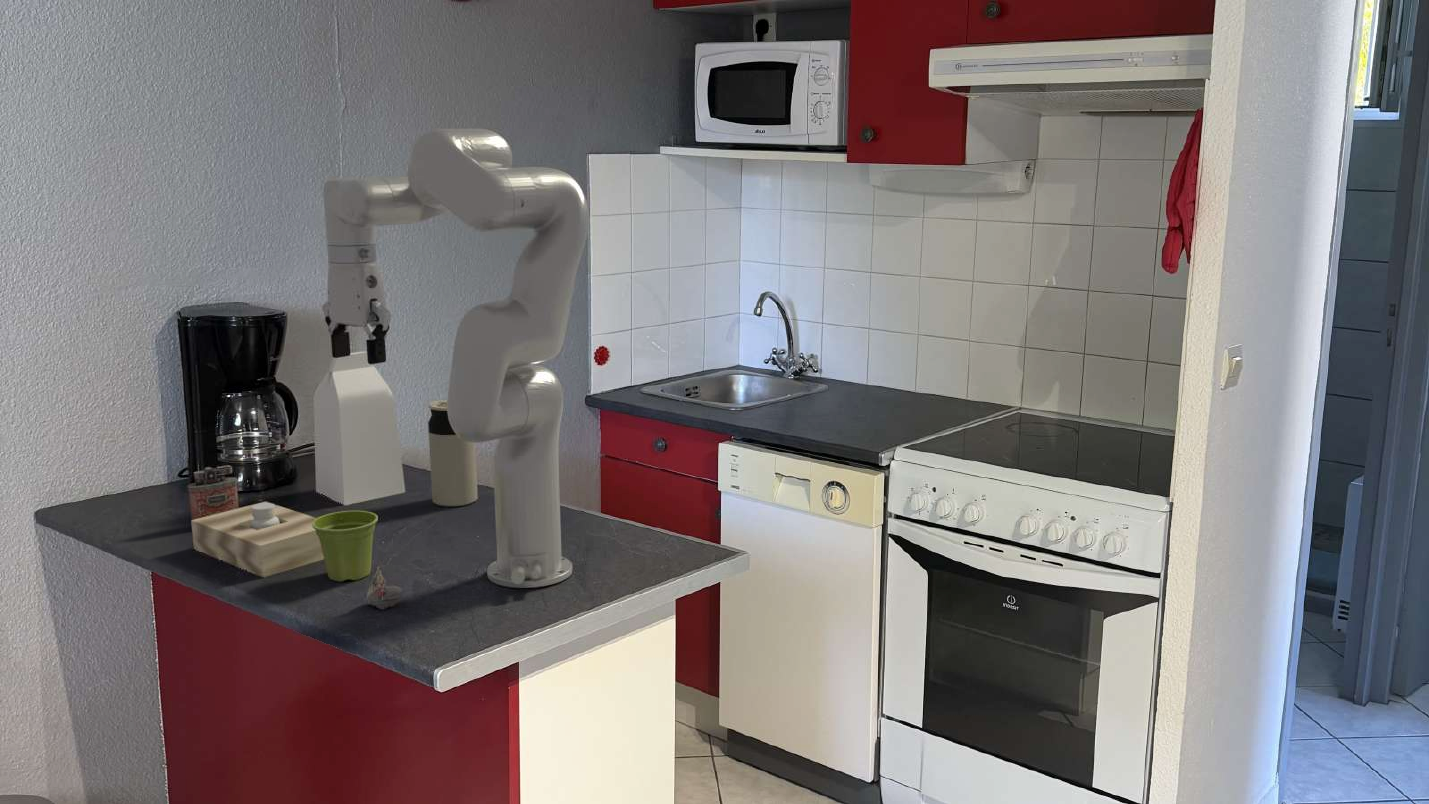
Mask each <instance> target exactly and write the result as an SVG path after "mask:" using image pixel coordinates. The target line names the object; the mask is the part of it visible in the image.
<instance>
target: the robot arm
mask: <svg viewBox="0 0 1429 804" xmlns="http://www.w3.org/2000/svg"><path fill="white" fill-rule="evenodd" d="M512 165H513V153H512V149H511V147H510V145H509V143H508V142H507V140H506V139H504V138H503V137H502V136H501V135H500V134H499V133H497V132H495V131H492V130H489V129H484V128H476V127H475V128H470V127H469V128H465V127H464V128H444V127H443V128H433V129H430V130H427V131H425V132H424V133H422V134H421V135H419V136H418V138H417V139H416V141H415V142H414V143H413V146H412V148H411V152H410V161H409V163H408V166H407V175H406V176H381V177H380V176H378V177H363V178H361V177H359V178H358V177H344V178H343V177H341V178H340V177H339V178H338V177H337V178H335V177H334V178H329V179H328V180H326V181H325V182H324V183H323V186H322V187H323V188H322V193H323V195H322V197H323V206H324V207H323V208H324V223H325V233H326V234H325V235H326V244H327V245H326V248H327V249H326V250H327V251H326V252H327V264H328V269H327V270H328V271H327V301H326V302H325V303H323V304H322V306H321V310H322V313H323V315H324V321H325V324H327V327H328V329H327V330H328V333H329V335H330V341H331V342H330V344H331V355H332V358H333V357H334V358H339V357H345V356H349V355H350V354H351V353H352V352H351V343H350V342H351V340H350V332H349V331H347V330H348V327H357V328H363V330H364V332H365V334H366V335H367V337H368V339H366V352H367V359H368V364H373V365H377V364H381V363H382V364H383V363H386V361H387V353H386V352H387V350H386V339H387V337H388V332H389V329H390V323H391V319H392V313H391V312H390V311H389V310H388V309H387V303H386V302H387V301H386V295H385V288H384V283H383V277H382V273H381V269H380V265H379V263H377V252H376V251H377V250H376V249H377V248H376V236H375V227H384V226H398V225H413V224H419V223H422V222H424V221H427V220H430V219H432V218H435V217H438V216H441V215H443V214H445V213H447V212H448V211H450V212H451V214H453V216H455V217H456V218H457V219H459V220H460V221H461V222H462V223H464V224H466V226H467V227H470V228H472V229H474V230H475V231H479V232H482V233H501V232H502V233H503V232H513V231H514V232H515V231H523V230H525V231H526V230H533V235H532V237H531V238H530V239H529V240H528V242H527V243H526V245H525V246H523V247H524V248H523V249H522V251H521V252H520V254H519V256H518V258H517V261H516V264H515V267H514V271H513V278H512V284H511V288H510V291H509V294H508V295H507V297H506V298H505V299H501V300H493V301H487V302H482V303H479V304H478V305H475V306H473V307H472V308H470V309H469V310H468V311H467V312H466V313H465V314H464V316H463V317H462V319H461V321H460V323H459V325H458V328H457V331H456V334H455V335H456V336H455V341H454V346H453V347H454V348H453V352H452V354H453V355H452V361H451V366H450V367H451V368H450V373H449V381H448V389H447V396H446V397H447V399H446V400H447V413H448V419H449V422H450V425H451V427H452V429H453V431H454V432H455V433H456V434H457V436H458V437H460V438H461V439H463V440H465V441H468V442H473V443H475V444H476V443H477V444H478V443H484V442H489V441H494V440H498V441H497V444H496V446H495V449H494V455H493V464H492V466H493V467H492V469H493V470H492V473H493V492H494V494H493V495H494V513H495V514H494V516H495V538H496V540H495V541H496V559H497V560H495V561H493V562H492V563H490V564H489V565H488V567H487V569H486V574H487V579H489V580H490V582H491V583H494V584H496V585H498V586H503V587H505V588H506V587H507V588H514V589H515V588H516V589H528V588H529V589H530V588H533V589H534V588H541V587H547V586H551V585H554V584H558V583H561V582H563V581H564V580H567V579H568V578H569V577H570V576H571V575H572V573H573V563H572V562H571V560H569V559H568V558H566V557H564V556H562V529H561V528H562V527H561V503H560V502H561V500H560V499H561V498H560V496H561V495H560V474H559V473H560V467H559V466H560V465H559V463H560V462H559V443H560V440H559V439H560V429H561V423H562V422H561V421H562V418H563V411H564V398H565V397H564V391H563V386H562V384H561V382H560V380H559V378H558V377H557V375H556V374H555V373H554V372H553V371H552V370H550V369H549V368H546V367H545V366H541V365H538V364H540V363H543V362H547V361H550V360H551V359H553V358H555V357H556V356H558V354H559V353H560V352H561V350H562V347H563V346H564V341H565V338H566V337H565V336H566V332H567V328H568V321H569V316H570V312H571V305H572V300H573V294H574V290H575V289H574V287H575V281H576V276H577V271H578V269H579V265H580V261H581V258H582V255H583V252H584V249H585V246H586V241H587V238H588V233H589V227H590V226H589V225H590V213H589V212H590V211H589V206H588V202H587V198H586V197H585V194H584V191H583V189H582V188H581V186H580V184H579V183H578V182H577V181H576V180H575V178H574V177H573V176H571V175H569V174H568V173H567V172H565V171H562V170H560V169H558V168H557V169H556V168H551V167H546V166H525V167H523V166H522V167H521V166H520V167H512ZM374 327H375V328H374ZM373 328H374V329H373Z"/></svg>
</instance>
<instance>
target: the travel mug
mask: <svg viewBox="0 0 1429 804" xmlns="http://www.w3.org/2000/svg"><path fill="white" fill-rule="evenodd" d="M428 408H429V409H430V413H431V416H430V418H429V420H428V422H427V425H428V426H427V427H428V444H429V445H428V447H429V459H430V460H429V463H430V465H429V466H430V478H431V480H430V481H431V483H430V484H431V497H432V503H434V504H436V505H437V506H441V507H449V508H451V507H452V508H453V507H454V508H455V507H463V506H468V505H470V504H473V503H474V502H476V501H477V500H478V498H479V497H478V495H479V494H478V480H477V479H478V478H477V459H476V443H473V442H468V441H465V440H463V439H461V438H460V437H458V436H457V434H456V433H455V432H454V431H453V429H452V427H451V425H450V422H449V419H448V413H447V399H440V400H436V401H435V400H434V401H432V402H431V403H429V404H428Z"/></svg>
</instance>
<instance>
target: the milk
mask: <svg viewBox="0 0 1429 804" xmlns="http://www.w3.org/2000/svg"><path fill="white" fill-rule="evenodd" d="M350 353H351V354H350V355H349V356H345V357H339V358H334V357H333V356H332V361H331V363H330V365H329V369H328V371H327V373H326V374H325V376H324V377H323V378H322V380H321V382H320V383H319V384H318V386H317V388H316V389H315V391H314V393H313V394H314V395H313V419H314V421H313V423H314V425H313V426H314V427H313V428H314V455H315V456H314V457H315V458H314V459H315V460H314V464H315V492H316V493H317V492H318V493H317V494H319V493H320V494H319V495H321V494H323V495H325V496H327V497H329V498H328V499H330V498H331V499H330V500H332V501H334V502H336V503H338V502H339V503H338V504H340V503H341V505H342V504H343V506H349V505H353V503H354V504H357V503H363V502H366V501H367V502H368V501H371V500H375V499H381V498H385V497H390V496H395V495H399V494H404V493H406V487H405V479H404V477H405V476H404V470H403V462H402V454H401V447H400V439H399V437H400V436H399V429H398V423H397V415H396V406H395V398H394V395H393V392H392V389H391V388H390V386H389V385H388V383H387V382H386V381H385V379H384V378H383V377H382V375H381V374H380V372H379V371H378V369H377V368H376V367H375V364H368V359H367V351H357V352H350ZM323 495H322V496H323ZM325 496H324V497H325ZM327 497H326V498H327Z"/></svg>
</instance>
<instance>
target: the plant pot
mask: <svg viewBox="0 0 1429 804" xmlns="http://www.w3.org/2000/svg"><path fill="white" fill-rule="evenodd" d="M315 518H316V519H315V520H314V521H313V522H312V527H313V528H314V529H315V530H316V534H317V536H318V537H319V540H320V544H321V548H322V552H323V556H324V559H323V561H324V564H325V568H326V572H327V576H328V578H329V579H330V580H331V581H336V582H344V581H346V580H352V581H357V580H361V579H363V578H365V577H368V576H369V575H370V573H371V570H372V552H373V540H374V539H373V538H374V531H375V528H376V523H377V522H378V521H379V520H378V519H379V517H378V515H377V514H376V513H374V512H371V511H367V510H344V511H337V512H336V511H335V512H332V513H327V514H324V515H320V516H318V517H315Z"/></svg>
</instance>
